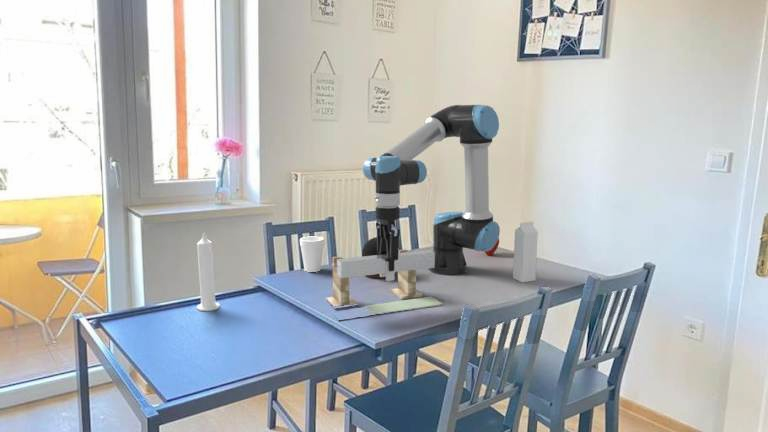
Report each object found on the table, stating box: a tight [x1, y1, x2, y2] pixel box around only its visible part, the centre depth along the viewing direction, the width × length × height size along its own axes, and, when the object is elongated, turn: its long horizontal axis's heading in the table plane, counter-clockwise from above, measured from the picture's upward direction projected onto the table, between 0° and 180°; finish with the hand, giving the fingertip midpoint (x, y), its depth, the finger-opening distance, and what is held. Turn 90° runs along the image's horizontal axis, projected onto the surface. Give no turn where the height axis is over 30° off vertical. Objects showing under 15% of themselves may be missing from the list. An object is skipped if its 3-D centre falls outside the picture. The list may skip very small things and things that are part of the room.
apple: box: [483, 237, 500, 256], centre depth 250 cm, size 9×8×11 cm
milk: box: [512, 221, 539, 283], centre depth 214 cm, size 6×6×22 cm
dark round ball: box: [361, 236, 386, 280], centre depth 220 cm, size 13×13×15 cm
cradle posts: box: [325, 248, 424, 307], centre depth 193 cm, size 32×9×15 cm, turn 113°
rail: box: [337, 249, 435, 278], centre depth 182 cm, size 32×4×5 cm, turn 113°
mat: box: [364, 296, 444, 314], centre depth 184 cm, size 36×8×1 cm, turn 113°
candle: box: [196, 232, 221, 312], centre depth 184 cm, size 7×7×25 cm
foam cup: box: [299, 235, 325, 273], centre depth 226 cm, size 10×9×13 cm
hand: (387, 278), depth 182 cm, fingers closed on rail, 4 cm apart
